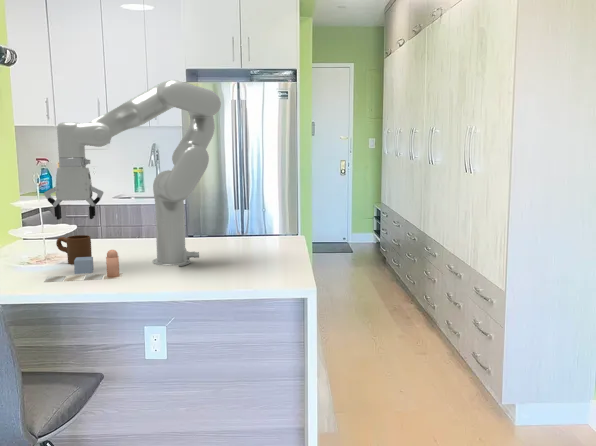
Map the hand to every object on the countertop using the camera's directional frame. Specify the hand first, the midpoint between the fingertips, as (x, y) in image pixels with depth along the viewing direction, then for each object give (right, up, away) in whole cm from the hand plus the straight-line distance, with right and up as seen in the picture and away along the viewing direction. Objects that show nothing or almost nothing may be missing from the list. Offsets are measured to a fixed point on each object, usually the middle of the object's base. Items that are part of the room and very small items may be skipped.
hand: (75, 218), depth 175 cm
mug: (-7, -15, +15) cm, 23 cm away
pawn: (+13, -18, -3) cm, 22 cm away
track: (+5, -19, -5) cm, 20 cm away
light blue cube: (+2, -17, +2) cm, 18 cm away
